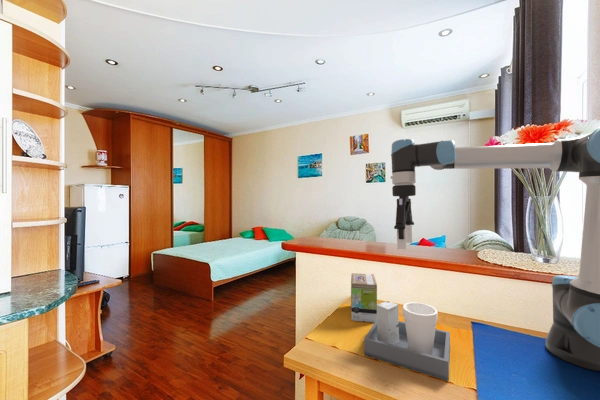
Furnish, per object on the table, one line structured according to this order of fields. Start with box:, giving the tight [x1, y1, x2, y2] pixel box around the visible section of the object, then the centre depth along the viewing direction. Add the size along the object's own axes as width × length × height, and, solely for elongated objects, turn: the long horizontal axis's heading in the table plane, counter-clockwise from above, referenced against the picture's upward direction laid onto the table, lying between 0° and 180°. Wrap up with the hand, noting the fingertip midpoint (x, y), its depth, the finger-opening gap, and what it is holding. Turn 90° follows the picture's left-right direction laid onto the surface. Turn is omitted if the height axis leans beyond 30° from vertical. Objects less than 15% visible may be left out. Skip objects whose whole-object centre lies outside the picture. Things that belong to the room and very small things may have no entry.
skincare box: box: [377, 300, 400, 345], centre depth 82 cm, size 6×4×12 cm
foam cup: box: [402, 301, 439, 355], centre depth 76 cm, size 10×9×13 cm
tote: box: [363, 320, 451, 382], centre depth 78 cm, size 22×17×5 cm
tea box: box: [350, 272, 378, 323], centre depth 105 cm, size 15×10×15 cm, turn 168°
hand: (405, 245), depth 89 cm, fingers open, 13 cm apart
